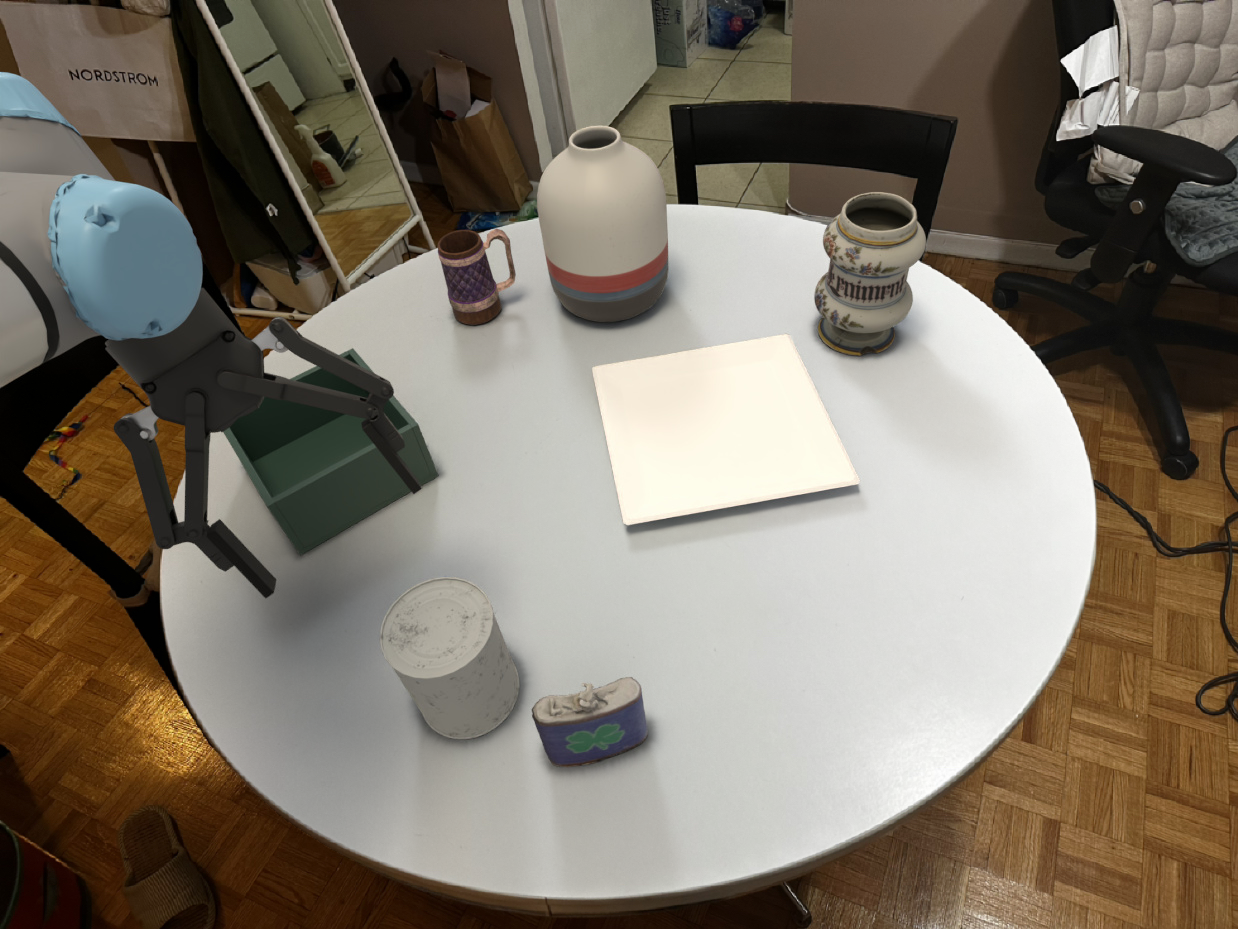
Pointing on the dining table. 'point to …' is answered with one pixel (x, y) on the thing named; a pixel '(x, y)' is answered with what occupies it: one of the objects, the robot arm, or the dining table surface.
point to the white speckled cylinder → (451, 656)
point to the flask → (591, 723)
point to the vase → (604, 226)
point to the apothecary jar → (868, 272)
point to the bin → (324, 460)
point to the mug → (472, 275)
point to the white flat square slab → (717, 429)
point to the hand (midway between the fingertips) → (345, 537)
